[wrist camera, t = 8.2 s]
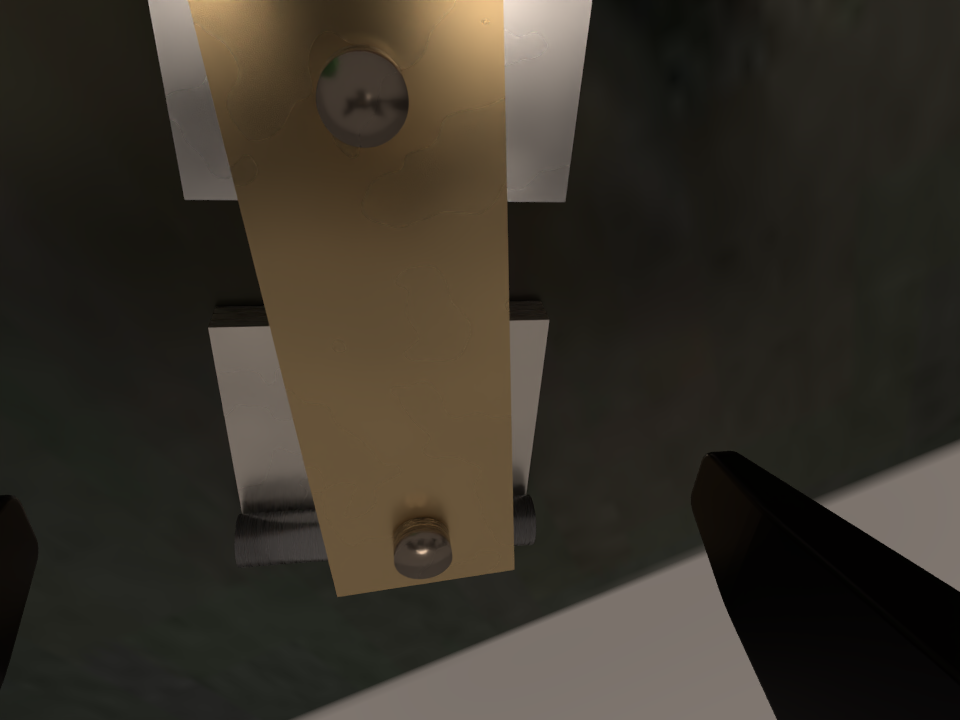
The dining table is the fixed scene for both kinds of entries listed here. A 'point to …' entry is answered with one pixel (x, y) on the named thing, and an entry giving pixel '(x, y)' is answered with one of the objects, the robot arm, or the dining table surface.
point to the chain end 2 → (275, 448)
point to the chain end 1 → (528, 98)
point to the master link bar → (380, 265)
